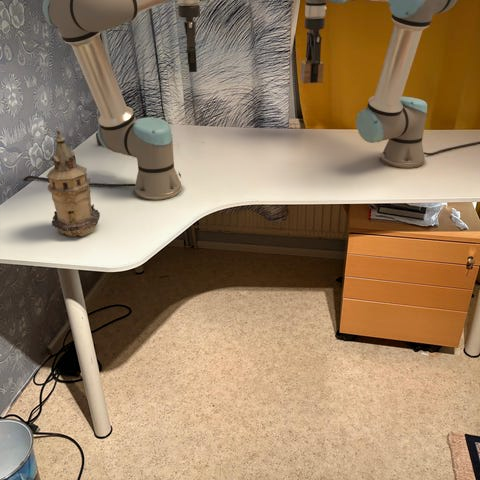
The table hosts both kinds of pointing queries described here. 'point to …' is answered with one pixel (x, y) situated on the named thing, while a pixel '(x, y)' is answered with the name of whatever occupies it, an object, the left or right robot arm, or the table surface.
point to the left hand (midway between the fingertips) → (192, 67)
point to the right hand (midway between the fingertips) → (311, 79)
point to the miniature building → (70, 193)
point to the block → (307, 72)
